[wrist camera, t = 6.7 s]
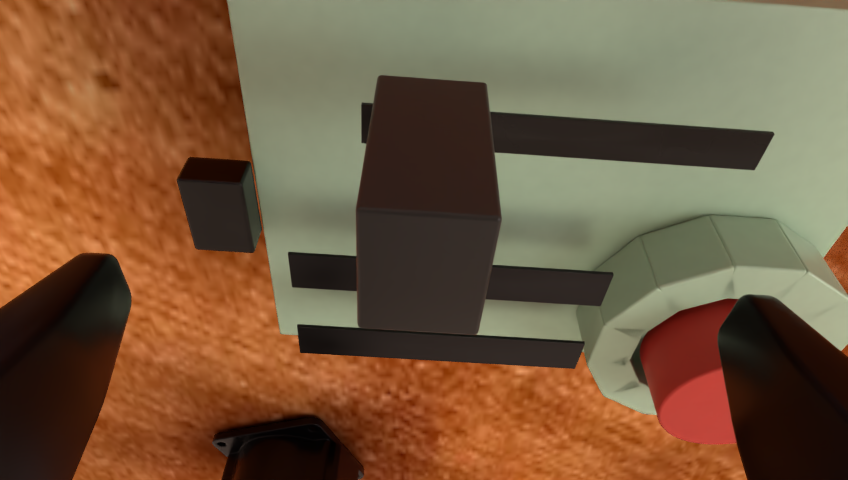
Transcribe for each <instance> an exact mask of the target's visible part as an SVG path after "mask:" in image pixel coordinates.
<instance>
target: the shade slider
mask: <svg viewBox="0 0 848 480" xmlns="http://www.w3.org/2000/svg"><path fill="white" fill-rule="evenodd" d="M501 222H502V214H501V205H500V196H499V187H498V178H497V169H496V160H495V151H494V142H493V133H492V125H491V116H490V107H489V98H488V89H487V84H486V83H484V82H471V81H457V80H443V79H429V78H415V77H402V76H388V75H379V76H378V78H377V83H376V89H375V95H374V101H373V107H372V113H371V119H370V125H369V131H368V137H367V143H366V150H365V156H364V162H363V168H362V174H361V180H360V186H359V192H358V198H357V204H356V266H357V324H358V326H359V328H365V329H382V330H398V331H415V332H432V333H449V334H466V335H476V334H477V333H478V331H479V327H480V322H481V318H482V313H483V308H484V303H485V298H486V294H487V289H488V284H489V279H490V275H491V270H492V265H493V260H494V256H495V251H496V246H497V241H498V236H499V232H500V227H501Z"/></svg>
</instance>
